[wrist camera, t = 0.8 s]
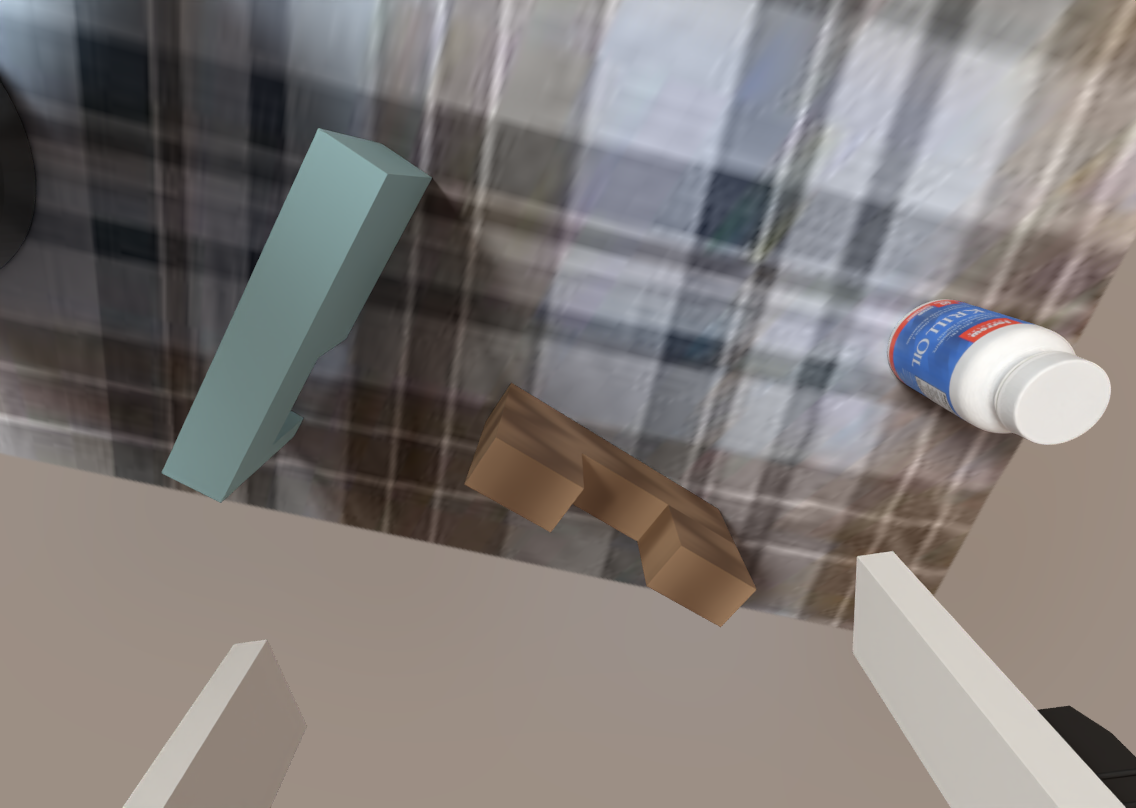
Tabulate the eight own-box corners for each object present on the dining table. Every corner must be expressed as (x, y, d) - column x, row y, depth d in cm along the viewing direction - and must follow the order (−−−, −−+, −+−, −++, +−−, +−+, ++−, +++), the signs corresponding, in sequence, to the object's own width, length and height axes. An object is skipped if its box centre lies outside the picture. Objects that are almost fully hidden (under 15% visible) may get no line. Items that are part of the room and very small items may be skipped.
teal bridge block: (248, 411, 35) (161, 473, 27) (381, 143, 29) (318, 127, 22) (293, 436, 35) (220, 502, 28) (432, 177, 30) (387, 174, 23)
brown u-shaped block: (485, 421, 35) (464, 484, 28) (511, 382, 34) (496, 437, 27) (690, 541, 38) (720, 627, 31) (718, 509, 37) (756, 589, 30)
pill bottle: (937, 278, 32) (1086, 313, 23) (996, 335, 33) (1158, 391, 24) (863, 351, 34) (975, 412, 24) (921, 404, 35) (1048, 480, 26)
